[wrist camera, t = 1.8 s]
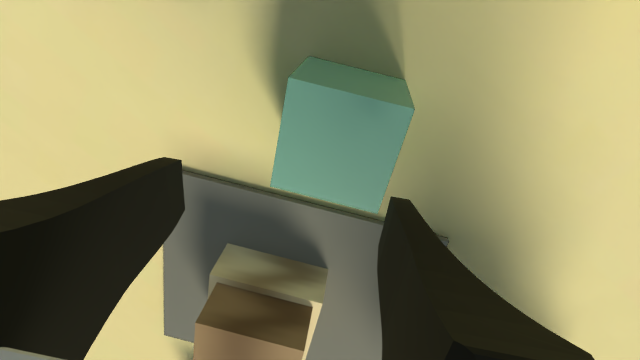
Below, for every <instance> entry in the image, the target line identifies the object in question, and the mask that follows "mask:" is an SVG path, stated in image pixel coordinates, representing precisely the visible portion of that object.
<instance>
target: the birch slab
mask: <svg viewBox="0 0 640 360" xmlns="http://www.w3.org/2000/svg"><path fill="white" fill-rule="evenodd" d="M327 275H328V269H326V268H322V267H318V266H314V265H310V264H306V263H303V262H299V261H295V260H291V259H287V258H283V257H279V256H275V255H272V254H268V253H264V252H260V251H256V250H252V249H248V248H245V247H241V246H237V245H233V244H229V243H227V245H226V247H225V249H224V250H223V252H222V254H221V255H220V257H219V259H218V261H217V262H216V264H215V266H214V267H213V269H212V271H211V273H210V275H209V288H208V298H209V296H210V294H211V293H212V291H213V289H214V287H215V285H216V283H217V282H218V283H222V284H226V285H229V286H233V287H237V288H241V289H245V290H249V291H252V292H256V293H260V294H264V295H268V296H272V297H275V298H279V299H283V300H287V301H291V302H295V303H298V304H302V305H306V306H310V307H313V309H312V314H311V320H310V325H309V330H308V335H307V340H306V345H305V350H304V354H303V357H302V360H305V359H306V356H307V353H308V350H309V346H310V343H311V340H312V337H313V333H314V330H315V327H316V324H317V320H318V317H319V314H320V311H321V308H322V304H323V299H324V293H325V287H326V281H327Z"/></svg>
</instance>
